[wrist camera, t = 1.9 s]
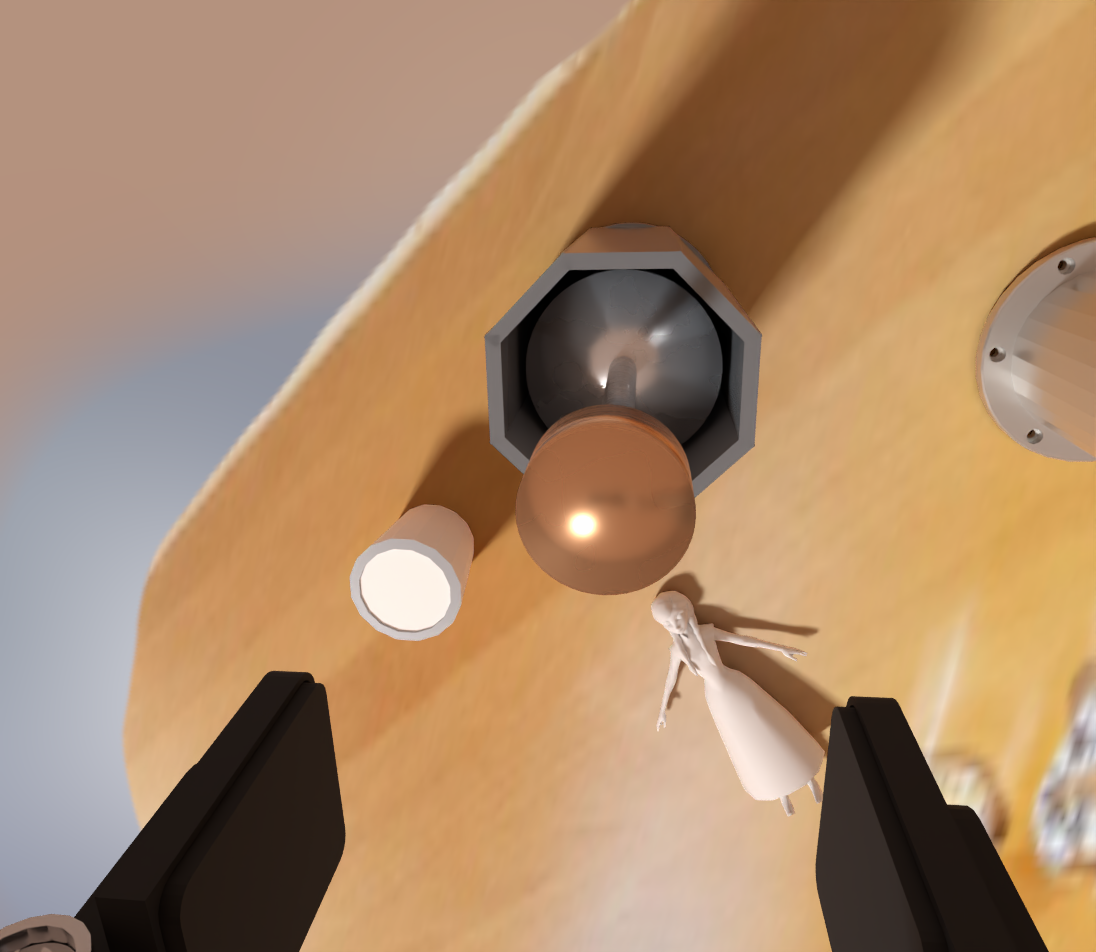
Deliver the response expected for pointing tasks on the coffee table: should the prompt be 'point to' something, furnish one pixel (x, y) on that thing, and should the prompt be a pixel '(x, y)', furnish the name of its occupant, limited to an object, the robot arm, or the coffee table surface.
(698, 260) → the press pot
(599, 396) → the plunger
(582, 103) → the coffee table surface
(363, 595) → the white cylinder
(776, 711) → the woman figurine
